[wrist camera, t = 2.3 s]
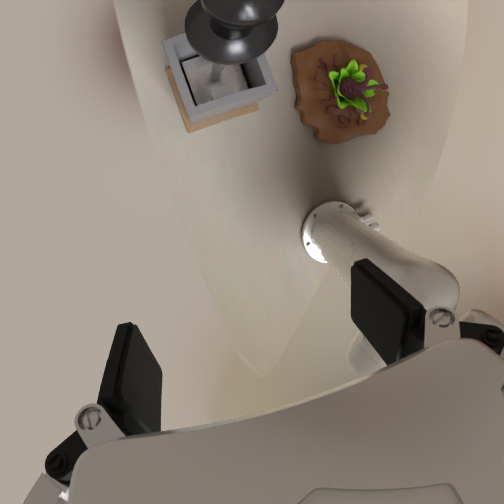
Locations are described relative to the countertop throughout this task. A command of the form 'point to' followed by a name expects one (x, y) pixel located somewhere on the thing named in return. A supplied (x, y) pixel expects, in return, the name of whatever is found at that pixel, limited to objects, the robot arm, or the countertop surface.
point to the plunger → (226, 43)
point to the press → (220, 108)
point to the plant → (339, 91)
